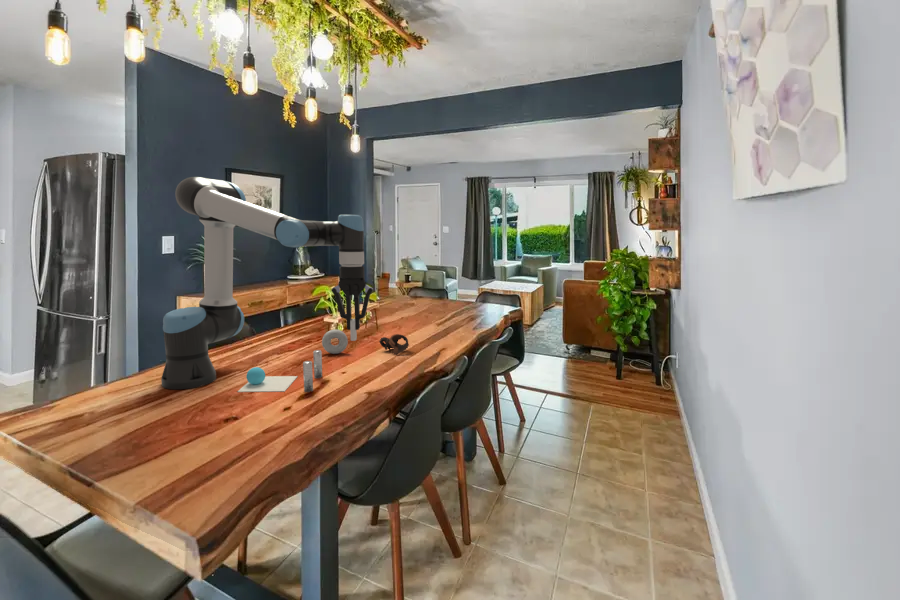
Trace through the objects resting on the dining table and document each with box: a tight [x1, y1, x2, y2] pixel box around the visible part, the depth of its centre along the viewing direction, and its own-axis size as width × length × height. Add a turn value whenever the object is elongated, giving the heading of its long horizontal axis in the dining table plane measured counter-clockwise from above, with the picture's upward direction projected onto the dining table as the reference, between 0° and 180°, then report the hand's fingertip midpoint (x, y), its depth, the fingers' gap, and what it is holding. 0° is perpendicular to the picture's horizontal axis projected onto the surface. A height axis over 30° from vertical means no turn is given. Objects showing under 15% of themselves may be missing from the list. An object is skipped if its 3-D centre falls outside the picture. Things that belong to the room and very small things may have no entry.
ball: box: [245, 366, 266, 385], centre depth 139 cm, size 6×6×6 cm
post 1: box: [302, 360, 314, 393], centre depth 134 cm, size 3×3×9 cm
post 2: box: [312, 349, 323, 379], centre depth 146 cm, size 3×3×9 cm
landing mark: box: [237, 375, 298, 393], centre depth 140 cm, size 14×14×1 cm
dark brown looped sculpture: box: [379, 333, 410, 355], centre depth 179 cm, size 12×10×8 cm
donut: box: [321, 328, 349, 355], centre depth 174 cm, size 10×4×10 cm, turn 104°
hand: (353, 339), depth 139 cm, fingers closed
